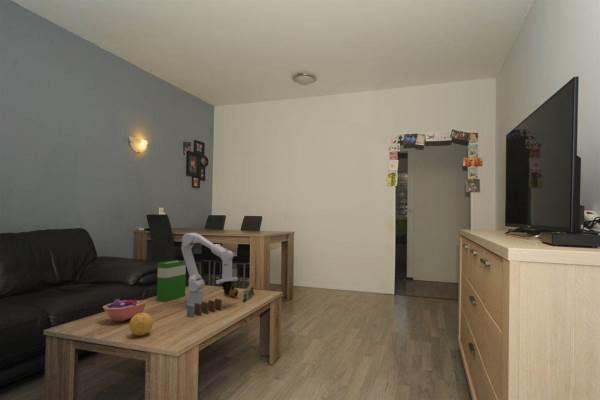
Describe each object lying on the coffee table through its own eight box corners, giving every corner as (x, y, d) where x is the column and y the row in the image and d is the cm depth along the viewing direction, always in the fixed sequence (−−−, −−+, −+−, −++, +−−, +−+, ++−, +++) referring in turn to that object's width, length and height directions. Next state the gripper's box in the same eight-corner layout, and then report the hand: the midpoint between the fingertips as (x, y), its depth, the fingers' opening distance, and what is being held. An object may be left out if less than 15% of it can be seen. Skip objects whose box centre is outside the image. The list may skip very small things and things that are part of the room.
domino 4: (213, 312, 196) (213, 301, 196) (208, 310, 199) (208, 300, 200) (215, 312, 197) (215, 301, 197) (209, 310, 200) (210, 299, 201)
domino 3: (206, 314, 193) (206, 303, 193) (201, 312, 196) (201, 301, 196) (208, 313, 194) (208, 302, 194) (203, 312, 197) (203, 301, 197)
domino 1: (192, 317, 186) (192, 306, 186) (186, 315, 189) (187, 304, 189) (194, 317, 187) (194, 305, 187) (188, 315, 190) (189, 304, 190)
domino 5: (220, 310, 200) (220, 300, 200) (214, 309, 203) (214, 298, 203) (221, 310, 200) (221, 299, 201) (216, 308, 204) (216, 298, 204)
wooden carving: (240, 298, 230) (240, 282, 231) (235, 299, 227) (235, 283, 228) (225, 294, 241) (225, 279, 242) (219, 295, 238) (220, 280, 238)
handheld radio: (254, 294, 243) (246, 303, 218) (249, 294, 244) (241, 303, 219) (254, 284, 244) (246, 292, 219) (249, 284, 244) (240, 292, 219)
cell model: (150, 320, 181) (150, 298, 182) (107, 328, 168) (107, 304, 169) (139, 313, 194) (140, 292, 195) (99, 320, 181) (99, 297, 182)
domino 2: (199, 315, 189) (199, 304, 190) (194, 314, 193) (194, 303, 193) (201, 315, 190) (201, 304, 190) (196, 313, 193) (196, 302, 194)
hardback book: (176, 295, 237) (177, 259, 238) (185, 296, 234) (185, 260, 236) (156, 301, 221) (157, 263, 222) (166, 302, 218) (166, 263, 219)
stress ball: (141, 330, 165) (141, 308, 165) (157, 333, 161) (158, 311, 162) (123, 337, 156) (124, 314, 156) (140, 340, 152) (141, 316, 153)
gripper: (221, 273, 199) (221, 297, 198) (241, 270, 210) (240, 293, 209) (213, 272, 204) (213, 295, 203) (233, 269, 215) (233, 291, 214)
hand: (226, 294), depth 206 cm, fingers closed
